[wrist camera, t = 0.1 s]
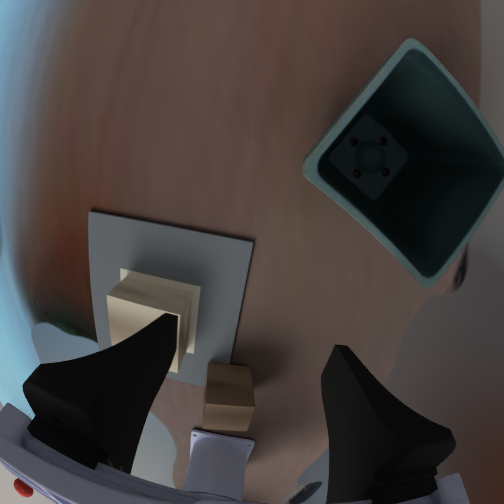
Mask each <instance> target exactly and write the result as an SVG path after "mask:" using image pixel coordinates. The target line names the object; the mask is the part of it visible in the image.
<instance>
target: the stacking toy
mask: <svg viewBox="0 0 504 504" xmlns="http://www.w3.org/2000/svg"><path fill="white" fill-rule="evenodd" d="M14 487H15V489H16V491H17V492H18V493H19V494H20V495H22V496H24V497H30V496H32V494H33V488H32V487H30V486H29V485H27V484H26V483H25V482H23V481H22V480H20V479H19V478H18V479H16V480H15V481H14Z"/></svg>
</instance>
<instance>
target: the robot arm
mask: <svg viewBox="0 0 504 504" xmlns="http://www.w3.org/2000/svg"><path fill="white" fill-rule="evenodd" d="M177 329H178V315H174V314H170V313H164V314H162V315H161V316H160V317H158V318H157V319H155V320H154V321H153V322H151V323H150V324H148V325H147V326H145V327H144V328H142V329H141V330H139V331H138V332H136V333H135V334H133V335H131V336H130V337H128V338H126V339H125V340H123V341H121V342H119V343H117V344H115V345H113V346H111V347H109V348H107V349H104V350H102V351H99V352H96V353H93V354H90V355H87V356H84V357H81V358H77V359H73V360H68V361H62V362H56V363H46V364H40V365H39V366H38V367H37V368H36V369H35V370H34V372H33V373H32V374H31V375H30V376H29V377H28V379H27V380H26V381H25V382H24V384H23V392H24V395H25V397H26V399H27V401H28V403H29V405H30V407H31V408H32V410H33V412H34V414H35V415H36V416H35V417H34V418H33V420H31V419H30V418H29V417H28V416H27V415H26V414H24V413H23V412H21V411H20V410H19V409H17V408H16V407H14V406H13V405H12V404H10V403H7V404H6V405H5V406H4V407H3V409H2V410H1V411H0V463H2V465H3V466H4V467H5V468H6V469H7V470H9V471H10V472H11V473H12V474H14V475H15V476H16V477H18V478H19V479H20V480H22V481H23V482H25V483H26V484H27V485H29V486H30V487H32V488H33V489H35V490H36V491H37V492H39V493H40V494H42V495H44V496H45V497H46V498H48V499H49V500H51V501H53V502H55V503H56V504H266V503H254V502H244V501H242V497H243V487H244V478H245V468H246V463H247V460H248V458H249V456H250V454H251V451H252V449H253V447H254V444H255V441H254V440H249V439H243V438H236V437H230V436H225V435H220V434H214V433H210V432H205V431H200V430H196V429H193V430H192V432H191V446H190V461H189V465H188V469H187V473H186V477H185V481H184V484H183V488H182V490H179V489H175V488H171V487H167V486H164V485H160V484H157V483H153V482H150V481H147V480H144V479H141V478H138V477H135V476H132V475H130V473H131V469H132V465H133V461H134V457H135V454H136V450H137V447H138V443H139V440H140V436H141V434H142V430H143V427H144V424H145V422H146V418H147V416H148V413H149V410H150V408H151V405H152V403H153V401H154V399H155V397H156V395H157V393H158V391H159V389H160V387H161V385H162V383H163V381H164V379H165V377H166V375H167V373H168V371H169V369H170V367H171V364H172V362H173V359H174V356H175V353H176V350H177ZM321 389H322V399H323V405H324V411H325V416H326V422H327V428H328V435H329V480H328V493H327V501H326V504H470V503H469V500H468V497H467V494H466V491H465V489H464V485H463V483H462V480H461V477H460V475H459V473H455V474H452V475H449V476H446V477H443V478H440V479H439V480H437V481H435V478H434V476H435V475H437V469H436V467H437V466H438V465H439V464H440V463H441V462H443V461H444V460H445V459H446V458H447V457H448V456H449V455H450V454H451V453H452V452H453V450H454V449H455V447H456V441H455V439H454V437H453V434H452V432H451V430H450V429H449V428H446V427H444V426H441V425H439V424H437V423H434V422H432V421H430V420H429V419H427V418H425V417H423V416H421V415H420V414H418V413H416V412H415V411H413V410H412V409H410V408H409V407H407V406H406V405H404V404H403V403H402V402H401V401H399V400H398V399H397V398H396V397H395V396H393V395H392V394H391V393H390V392H389V391H388V390H387V389H386V388H385V387H384V386H383V385H382V384H381V383H380V382H379V381H378V380H377V379H376V378H375V377H374V376H373V375H372V374H371V373H370V372H369V370H368V369H367V368H366V367H365V366H364V365H363V363H362V362H361V361H360V360H359V359H358V358H357V356H356V355H355V354H354V353H353V352H352V351H351V349H350V348H349V347H348V346H344V345H336V344H335V346H334V348H333V351H332V353H331V355H330V357H329V360H328V362H327V364H326V366H325V368H324V371H323V373H322V375H321Z"/></svg>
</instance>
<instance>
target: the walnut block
mask: <svg viewBox="0 0 504 504" xmlns="http://www.w3.org/2000/svg"><path fill="white" fill-rule="evenodd" d="M254 410H255V399H254V391H253V383H252V374H251V366H240V365H229V364H219V363H210V362H208V365H207V373H206V381H205V389H204V408H203V428H204V429H215V430H229V431H247V430H248V427H249V424H250V421H251V418H252V416H253V413H254Z"/></svg>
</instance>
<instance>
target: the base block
mask: <svg viewBox="0 0 504 504" xmlns="http://www.w3.org/2000/svg"><path fill="white" fill-rule="evenodd" d="M192 294H193V292H191V291H187V290H182V289H178V288H174V287H169V286H165V285H161V284H157V283H153V282H149V281H145V280H141V279H137V278H133V277H129V276H126V277H125V278H124V279H123V280H122V281H120V282H119V283H118V284H117V285H116V286H115V287H114V288H113V289H112V290H111V291H110V292H109V293H108V294H107V306H108V317H109V326H110V335H111V343H112V346H113V345H115V344H117V343H119V342H121V341H123V340H125V339H126V338H128V337H130V336H131V335H133V334H135V333H136V332H138V331H139V330H141V329H142V328H144V327H145V326H147V325H148V324H150V323H151V322H153V321H154V320H155V319H157V318H158V317H160V316H161V315H162V314H164V313H170V314H174V315H178V329H177V350H176V353H175V356H174V359H173V362H172V364H171V367H170V369H169V371H171V372H175V373H178V371H179V368H180V366H181V363H182V361H183V358H184V356H185V354H186V351H187V349H188V339H189V326H190V315H191V304H192Z"/></svg>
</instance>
